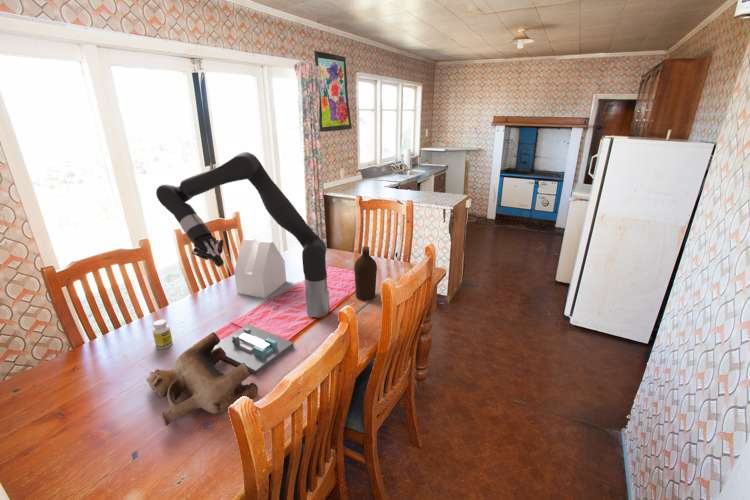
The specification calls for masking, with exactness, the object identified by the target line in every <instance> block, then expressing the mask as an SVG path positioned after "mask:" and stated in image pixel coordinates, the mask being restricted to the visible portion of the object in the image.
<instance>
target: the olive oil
mask: <svg viewBox="0 0 750 500" xmlns="http://www.w3.org/2000/svg"><path fill="white" fill-rule="evenodd" d="M361 249H362V250H361V255H360V256H359V257H358V259H357V260H355V263H354V266H353V269H354V271H353V272H354V283H355V286H354V287H355V290H354V291H355V298H356V299H357V300H359V301H365V300H368V301H372V300H373V298H374V297H375V298H376V288H377V274H378V272H377V271H378V266H377V262H376V260H375V259H374V258H373V257H372V256H371V255H370V247H369V246H362V248H361ZM375 298H374V299H375Z"/></svg>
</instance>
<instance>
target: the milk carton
mask: <svg viewBox="0 0 750 500" xmlns="http://www.w3.org/2000/svg"><path fill="white" fill-rule="evenodd" d="M285 261H286V260H285V259H284V257H283V256H282V254H281V252H280V251H279V248H277V246H276V244H275V243H274V241H272V240H265V239H261V240H260V241H259V242H258V241H257V239H256V238H251V237H250V238H249V237H244V238H242V241H241V243H240V248H239V251H238V255H237V260H236V264H235V267H234V273H233V274H234V280H235V287H236V294H240V295H245V296H252V297H257V298H263V299H266V298H267V297H268V296H270V295H271V294H272V293H273V292H275V291H276V290H277V289H278V288H280V287H281V286H282V285H284V284H285V283H286V282H287V273H286V262H285Z"/></svg>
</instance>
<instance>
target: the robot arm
mask: <svg viewBox="0 0 750 500" xmlns="http://www.w3.org/2000/svg"><path fill="white" fill-rule="evenodd" d="M243 180H248V181H249V182H250V183H251V185H253V187H254V188H255V189H256V191H257V193H258V195H259V197H260V200H261V201H262V203H263V206H264V207H265V210H266V211H267V213H268V214H269V216H271V217H272V219H273V220H274V221H275V222H276V223H277V224H278V225H279V226H280V227H281V228H283V229H284V230H286V231H287V232H288V233H290V234H291V235H292V236H293V237H294V238H296V240H297V241H298V243H299V244H300V245H301V247H302V249H303V250H302V253H301V255H302V257H301V258H302V259H301V260H302V271H303V272H302V273H303V275H304V285H305V286H304V288H305V302H306V305H305V306H306V315H307V314H308V315H309V316H308V315H307V316H308V317H310V316H311V317H310V318H312V317H316V318H315V319H317V318H318V319H320V318H324V317H325V316H327V315H328V313H329V311H330V292H329V290H328V276H327V275H328V274H327V273H328V271H327V265H326V254H327V245H326V243H325V242H324V240H323V239H322V238H320V237H319V236H318V235H317V234H316V232H315V231H314V230H312V228H311V227H310V226H309V225H308V224H307V222H306V220H304V218H303V217H302V215H301V214H300V213H299V211H298V210H297V209H296V207H295V206H294V204H292V202H291V201H290V200H289V199H288V197H287V196H286V195H285V194H284V192H282V190H281V188H279V187H278V185H277V184H276V183H275V182H274V181H273V179H272V178H271V177H270V176H269V174H268V172H267V171H266V169H265V167H264V166H263V165H262V163H261V162H260V160H259V158H257V156H256V155H255V154H253V153H251V152H248V151H244V152H241V153H238V154H236V155H234V156H233V157H232V158H231V159H229V160H227V161H226V162H224V163H223V164H221V165H219V166H217V167H214V168H212V169H210V170H207V171H203V172H199V173H197V174H194V175H191V176H189V177H187V178H184V179H183V180H181V182H180V183H179V185H177V186H174V185H171V184H167V183H166V184H160V185H159V186H158V187H157V188H156V193H155V194H156V198H157V200H158V202H159V203H160V204H161V205H162V206H163V207H164V208H165V209H166V210H167V211H168V212H169V213H171V214H172V215H173V216H174V218H175V219H176V221H177V223H178V224H179V225H180V227H181V229H182V230H183V232H184V233H185V235H186V237H188V239H189V240H190V242H191V243H192V244H193V247H194V249H192V251H191V254H192V255H194V256H197V257H199V258H200V259H203V260H206V261H207V260H211V261H212V262H213V264H214V266H216V267H218V268H220V267H222V266H223V265H224V263H225V262H224V260H223V259H222V257H221V254H222V253H223V249H224V240H223V239H220V240H219V239H217V238H215V236H213V235H212V232H211V231H210V229H209V228H208V225H206V223H205V222H204V221H203V219H202V218H201V217H200V216H199V215H198V214H197V212H196V211H195V209H194V208H193V206H192V205H190V204H189V203H187V202H188V201H190V200H191V199H193V198H194V197H196V196H199V195H201V194H204V193H207V192H208V191H211V190H213V189H215V188H218V187H220V186H222V185H225V184H229V183H233V182H238V181H243Z"/></svg>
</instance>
